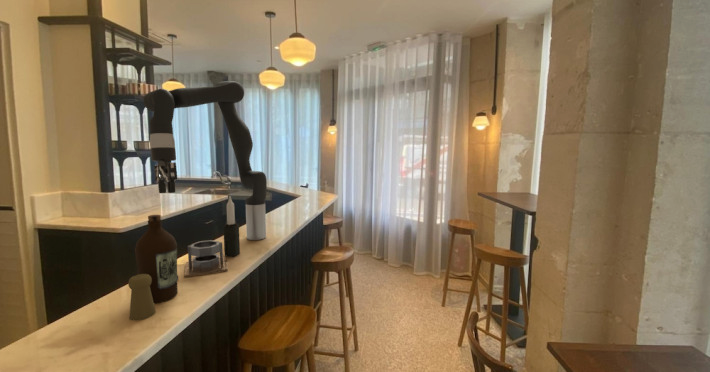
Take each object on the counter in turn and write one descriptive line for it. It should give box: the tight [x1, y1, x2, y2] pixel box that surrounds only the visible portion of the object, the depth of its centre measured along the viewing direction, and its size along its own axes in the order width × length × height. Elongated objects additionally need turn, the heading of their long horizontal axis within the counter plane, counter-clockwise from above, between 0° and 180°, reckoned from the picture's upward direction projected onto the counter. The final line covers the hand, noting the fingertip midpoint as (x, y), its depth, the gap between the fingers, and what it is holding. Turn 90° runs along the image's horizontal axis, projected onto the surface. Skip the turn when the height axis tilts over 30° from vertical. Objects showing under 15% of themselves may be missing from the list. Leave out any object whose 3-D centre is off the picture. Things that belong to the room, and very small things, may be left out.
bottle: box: [222, 195, 241, 258], centre depth 133 cm, size 5×5×25 cm
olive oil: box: [134, 214, 179, 304], centre depth 96 cm, size 11×11×25 cm
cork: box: [127, 273, 157, 321], centre depth 86 cm, size 6×6×11 cm
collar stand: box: [183, 239, 228, 278], centre depth 120 cm, size 14×14×9 cm
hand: (167, 192), depth 115 cm, fingers open, 8 cm apart
